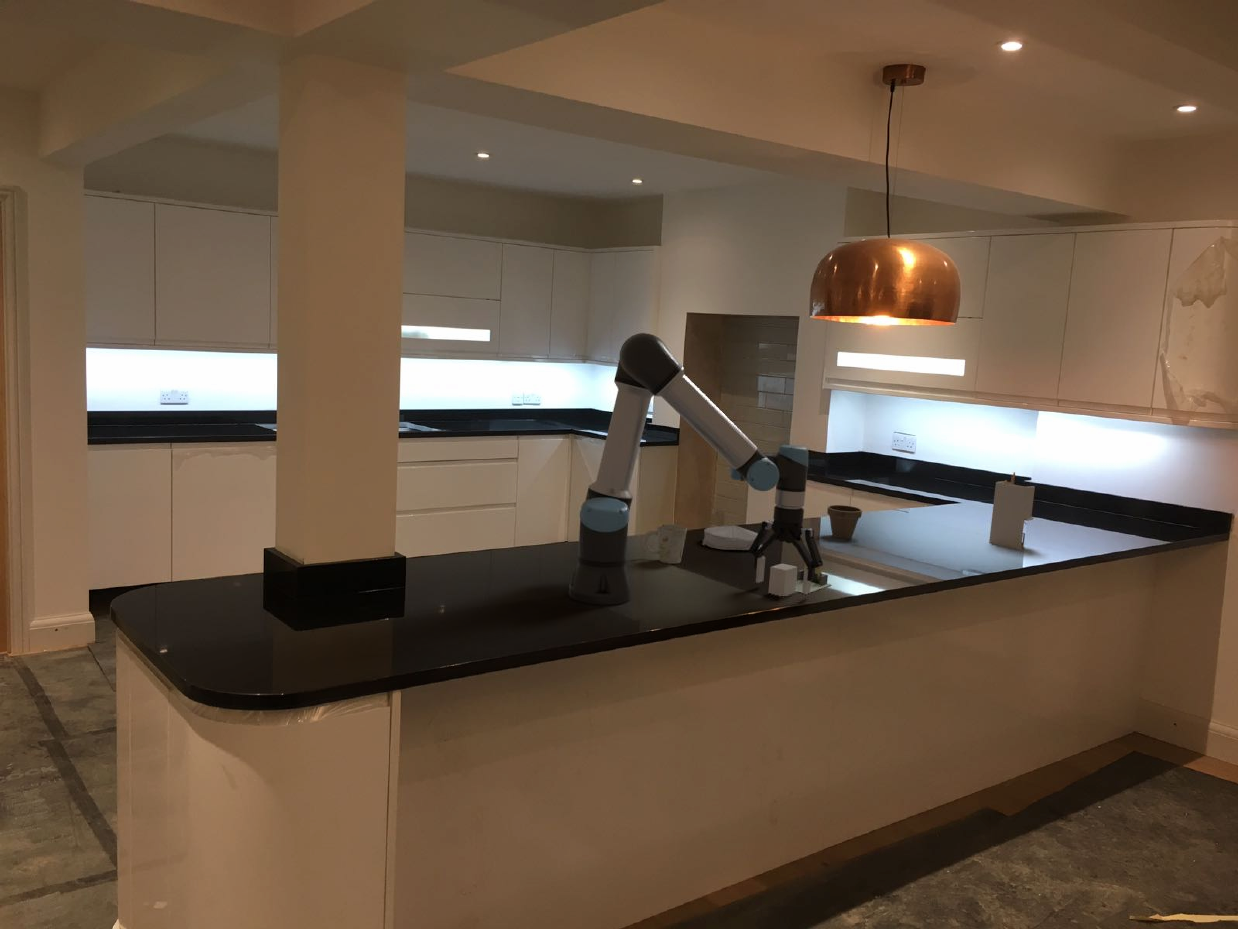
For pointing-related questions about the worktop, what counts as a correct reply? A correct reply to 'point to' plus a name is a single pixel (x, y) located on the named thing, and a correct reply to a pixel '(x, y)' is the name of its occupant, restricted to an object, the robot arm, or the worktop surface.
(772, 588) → the plug housing
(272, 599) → the worktop surface
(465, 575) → the worktop surface
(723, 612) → the worktop surface
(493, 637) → the worktop surface
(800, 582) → the board
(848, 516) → the flower pot
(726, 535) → the food container
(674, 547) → the mug
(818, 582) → the header pins
